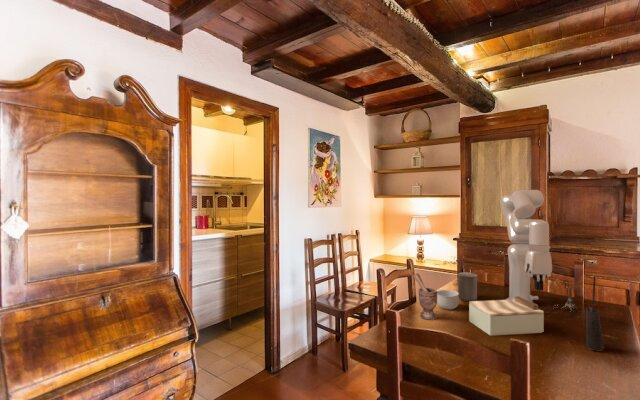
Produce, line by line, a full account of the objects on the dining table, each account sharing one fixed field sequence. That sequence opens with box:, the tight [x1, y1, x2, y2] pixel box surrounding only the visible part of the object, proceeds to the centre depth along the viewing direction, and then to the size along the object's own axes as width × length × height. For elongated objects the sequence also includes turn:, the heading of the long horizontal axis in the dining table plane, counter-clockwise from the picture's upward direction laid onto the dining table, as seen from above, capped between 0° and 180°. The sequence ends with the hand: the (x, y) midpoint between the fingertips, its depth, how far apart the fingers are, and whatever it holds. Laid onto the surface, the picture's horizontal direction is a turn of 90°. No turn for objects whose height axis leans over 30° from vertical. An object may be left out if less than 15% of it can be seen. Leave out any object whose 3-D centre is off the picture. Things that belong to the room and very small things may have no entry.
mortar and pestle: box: [413, 272, 438, 321], centre depth 161 cm, size 12×9×20 cm
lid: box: [468, 297, 545, 316], centre depth 149 cm, size 24×16×3 cm, turn 96°
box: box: [468, 303, 545, 337], centre depth 149 cm, size 24×16×8 cm, turn 96°
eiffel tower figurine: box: [552, 285, 578, 312], centre depth 170 cm, size 15×10×13 cm
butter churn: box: [585, 275, 605, 350], centre depth 128 cm, size 9×10×28 cm
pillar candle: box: [457, 271, 478, 302], centre depth 188 cm, size 10×10×15 cm
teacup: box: [437, 288, 460, 311], centre depth 175 cm, size 14×11×8 cm
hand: (538, 289), depth 150 cm, fingers closed
